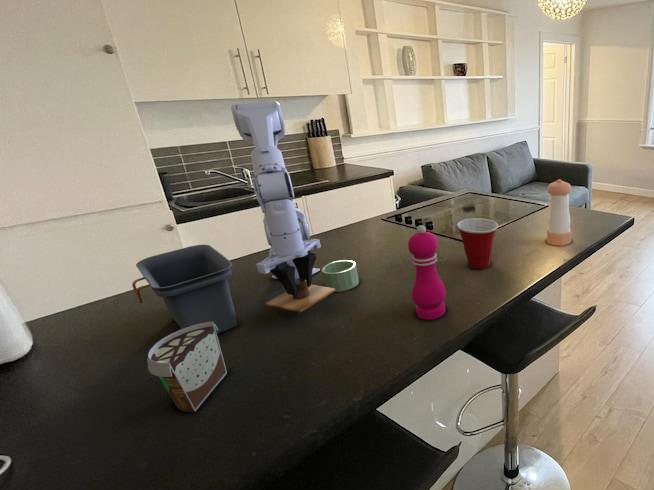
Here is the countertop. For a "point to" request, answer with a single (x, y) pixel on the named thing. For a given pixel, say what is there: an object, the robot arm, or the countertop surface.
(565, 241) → the salt shaker
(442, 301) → the pepper mill
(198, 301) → the storage bin
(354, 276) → the green cup
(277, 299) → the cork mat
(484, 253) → the plastic cup
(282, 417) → the countertop surface
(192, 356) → the food container
